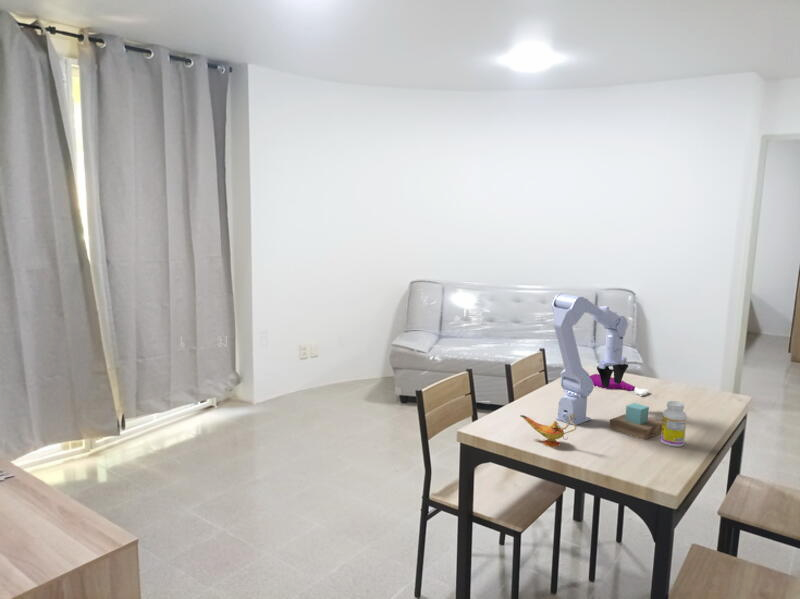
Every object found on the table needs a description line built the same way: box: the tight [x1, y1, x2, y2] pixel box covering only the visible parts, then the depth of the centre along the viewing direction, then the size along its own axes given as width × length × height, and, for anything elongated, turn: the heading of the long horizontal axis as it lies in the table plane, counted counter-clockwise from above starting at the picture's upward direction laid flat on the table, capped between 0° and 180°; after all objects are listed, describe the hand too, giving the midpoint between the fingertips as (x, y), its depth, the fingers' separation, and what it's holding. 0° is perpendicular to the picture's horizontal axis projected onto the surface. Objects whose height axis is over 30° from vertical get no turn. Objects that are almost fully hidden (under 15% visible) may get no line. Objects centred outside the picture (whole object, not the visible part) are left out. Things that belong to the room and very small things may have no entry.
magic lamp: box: [519, 414, 577, 448], centre depth 175 cm, size 7×18×11 cm, turn 55°
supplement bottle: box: [660, 400, 688, 448], centre depth 175 cm, size 7×7×13 cm
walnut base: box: [608, 413, 662, 441], centre depth 186 cm, size 12×12×3 cm
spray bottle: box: [589, 373, 650, 397], centre depth 231 cm, size 3×11×24 cm
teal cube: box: [625, 402, 650, 425], centre depth 186 cm, size 5×5×5 cm
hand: (611, 384), depth 204 cm, fingers open, 7 cm apart
